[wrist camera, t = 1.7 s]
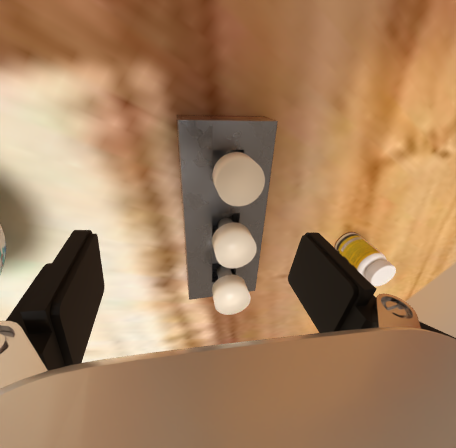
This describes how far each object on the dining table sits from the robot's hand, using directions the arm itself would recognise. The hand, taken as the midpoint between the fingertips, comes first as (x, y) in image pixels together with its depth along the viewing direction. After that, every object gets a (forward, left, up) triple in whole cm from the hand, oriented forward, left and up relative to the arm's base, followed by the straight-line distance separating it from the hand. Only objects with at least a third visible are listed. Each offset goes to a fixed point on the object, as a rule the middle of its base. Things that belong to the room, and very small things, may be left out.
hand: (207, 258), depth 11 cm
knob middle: (+1, +9, -16) cm, 18 cm away
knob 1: (-3, +3, -16) cm, 17 cm away
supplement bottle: (-13, +29, -20) cm, 37 cm away
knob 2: (+5, +15, -16) cm, 23 cm away
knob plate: (+1, +9, -20) cm, 22 cm away
